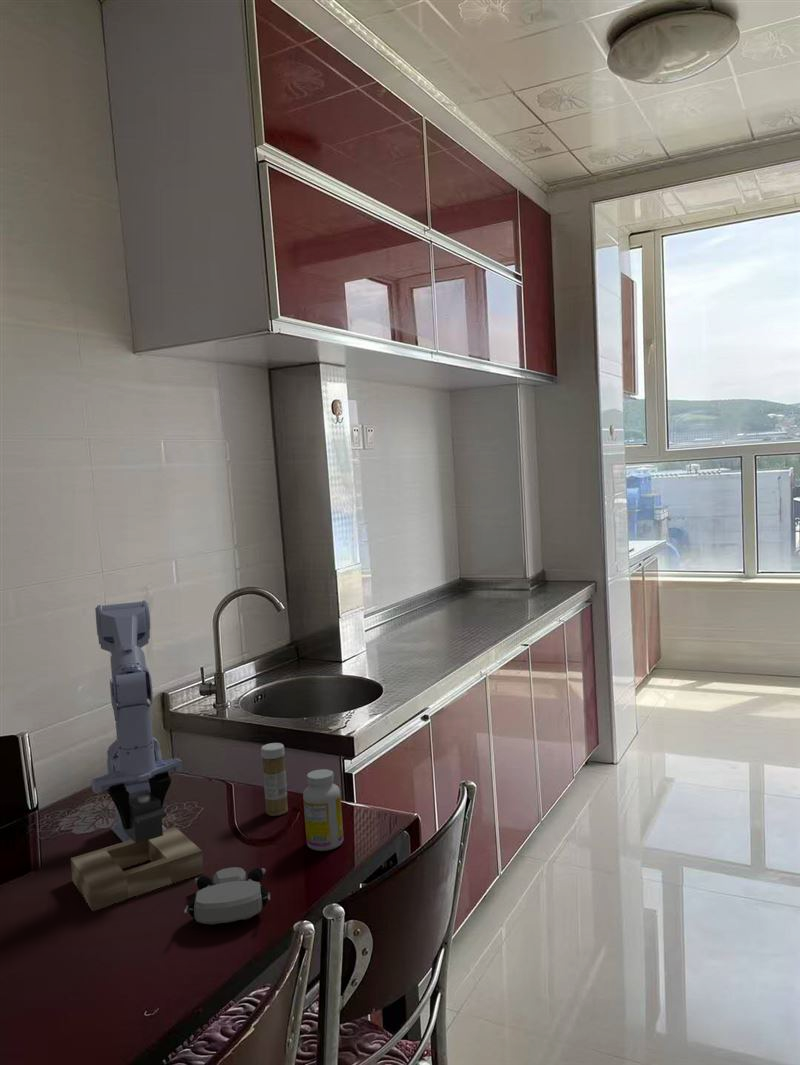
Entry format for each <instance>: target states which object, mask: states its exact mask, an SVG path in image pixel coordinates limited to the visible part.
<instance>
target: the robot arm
mask: <svg viewBox="0 0 800 1065" xmlns="http://www.w3.org/2000/svg"><path fill="white" fill-rule="evenodd" d="M149 605H150V604H149V603H148V602H147V601H146V600H142V601H135V602H126V603H114V604H113V603H112V604H105V605H104V604H103V605H101V604H97V606H96V607H95V621H96V622H95V624H96V635H97V637H98V638H97V639H98V645H100V649H101V650H104V651H107V652H109V653H110V654H111V655H110V667H111V678H110V681H109V686H110V687H109V688H110V700H111V707H112V711H113V716H114V722H115V730H116V731H115V732H116V739H115V740H114V741H113V742H112V743H111V744H110V745H109V746H108V749H107V751H106V754H107V755H106V756H107V758H106V762H107V774H105V775H102V776H99V777H96V778H91V790H92V792H93V793H94V794H96V795H97V794H101V793H103V791H106V792H107V793H108V795H109V796H110V798H111V800H112V802H113V803H114V812H115V813H114V815H115V825H111V826H110V829H111V831H113V833H114V834H115V835H116V836H117V837H118V838H119V840H121V841H122V842H126V841H129V840H132V839H131V838H130V837H129V836H128V835H127V834H126V833H125V832H124V831H123V827H124V828H125V829H126V830H128V829H130V816H129V794H130V793H133V792H137V791H141V790H144V789H147V790H149V791H150V792H151V793H152V794H153V795H155V796H156V797H157V798H158V799H159V800H160V802H161V809H162V810H163V805H164V802H165V798H166V796H167V792H168V790H169V788H170V787H171V784H172V778H171V776H170V775H169V774H171V773H180V772H182V771H183V767H182V766H183V765H182V759H179V757H175V758H171V759H165V760H164V759H163V758H162V750H161V746H160V742H159V741H158V739H157V738H156V737H154V736H153V735H154V733H153V720H152V719H153V718H152V706H151V705H153V699H154V698H153V697H154V696H153V693H154V692H153V682H152V676H151V673H150V670H149V668H148V667H147V664H146V663H147V662H146V656H145V652H144V650H143V647H144V646H146V645H148V644H150V643H149V639H150V638H151V635H150V634H151V631H150V630H151V617H150V616H151V615H150V607H149ZM148 700H149V701H150V703H149V702H148ZM162 828H163V830H165V829H167V827H165V826H164V825H163V824H162Z"/></svg>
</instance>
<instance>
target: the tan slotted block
mask: <svg viewBox="0 0 800 1065" xmlns="http://www.w3.org/2000/svg"><path fill="white" fill-rule="evenodd" d="M147 860H150V861H151V862H150V861H149V863H146V862H145V861H147ZM203 860H204V859H203V850H201V848H200V847H199V846H197V845H196V844H195V843H194V842H193V841H192V840H191V839H190V838H189V837H187V835H185V834H184V833H183V832H182V831H181V830H180V829H179V828H177V827H176V826H172V827H169V828H166V829H165V830H163V836H160V837H157V838H153V839H150V840H147V841H144V842H140V843H137V844H136V843H135V842H134V841H133V840H129V841H126V842H123V841H122V842H120V843H116V844H113V845H110V846H107V847H106V846H105V847H103V848H100V849H96V850H93V851H90V852H86V853H83V854H80V855H77V856H73V857H70V867H71V870H70V871H71V880H72V882H73V884H74V885H75V887H76V886H77V887H76V888H77V890H78V889H79V890H78V891H79V893H80V892H81V893H80V894H82V895H83V896H82V895H81V896H82V897H84V898H85V899H84V898H83V899H84V900H86V901H85V903H86V904H87V903H88V904H87V906H89V908H90V910H91V911H92V912H96V911H98V910H101V909H104V908H107V907H110V906H113V905H115V904H114V903H116V904H119V903H121V901H122V902H124V901H123V900H125V901H127V900H126V899H128V898H131V897H133V896H136V897H138V896H137V895H139V896H141V895H140V894H142V893H145V894H147V893H146V892H148V893H151V892H153V891H152V890H154V891H156V890H155V889H157V888H160V887H163V886H165V885H168V886H170V885H169V884H171V885H173V884H172V883H174V884H177V883H180V882H183V881H186V880H189V879H190V878H191V877H192V878H193V877H194V878H195V877H197V876H200V875H204V862H203ZM142 862H143V863H145V864H143V863H142ZM147 862H148V861H147ZM138 863H140V864H142V865H139V864H138ZM135 864H137V865H139V866H136V865H135ZM132 865H134V866H136V867H133V866H132ZM130 866H131V868H130ZM127 867H128V868H130V869H127ZM132 867H133V868H132ZM124 868H125V869H127V870H125V869H124ZM192 878H191V879H192ZM185 879H186V880H185ZM176 882H177V883H176ZM165 887H166V886H165ZM163 888H164V887H163ZM160 889H161V888H160ZM157 890H158V889H157ZM150 891H151V892H150ZM142 895H143V894H142ZM131 899H132V898H131ZM128 900H129V899H128ZM118 902H119V903H118ZM112 904H113V905H112Z"/></svg>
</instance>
